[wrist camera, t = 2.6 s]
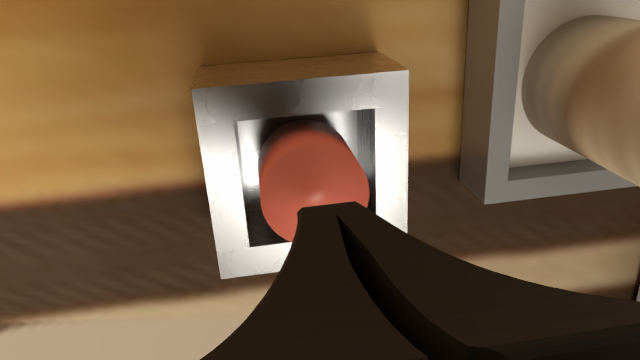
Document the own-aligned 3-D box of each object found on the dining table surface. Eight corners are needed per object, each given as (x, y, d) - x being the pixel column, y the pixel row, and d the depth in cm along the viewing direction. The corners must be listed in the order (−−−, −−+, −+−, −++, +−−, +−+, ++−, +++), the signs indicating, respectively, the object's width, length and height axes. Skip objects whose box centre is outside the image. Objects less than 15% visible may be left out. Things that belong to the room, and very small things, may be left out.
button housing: (379, 208, 20) (406, 254, 16) (224, 227, 19) (221, 278, 16) (377, 51, 17) (409, 70, 14) (200, 66, 17) (190, 88, 13)
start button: (352, 202, 17) (370, 238, 14) (262, 213, 16) (266, 252, 14) (349, 115, 16) (368, 139, 13) (252, 124, 15) (254, 151, 13)
